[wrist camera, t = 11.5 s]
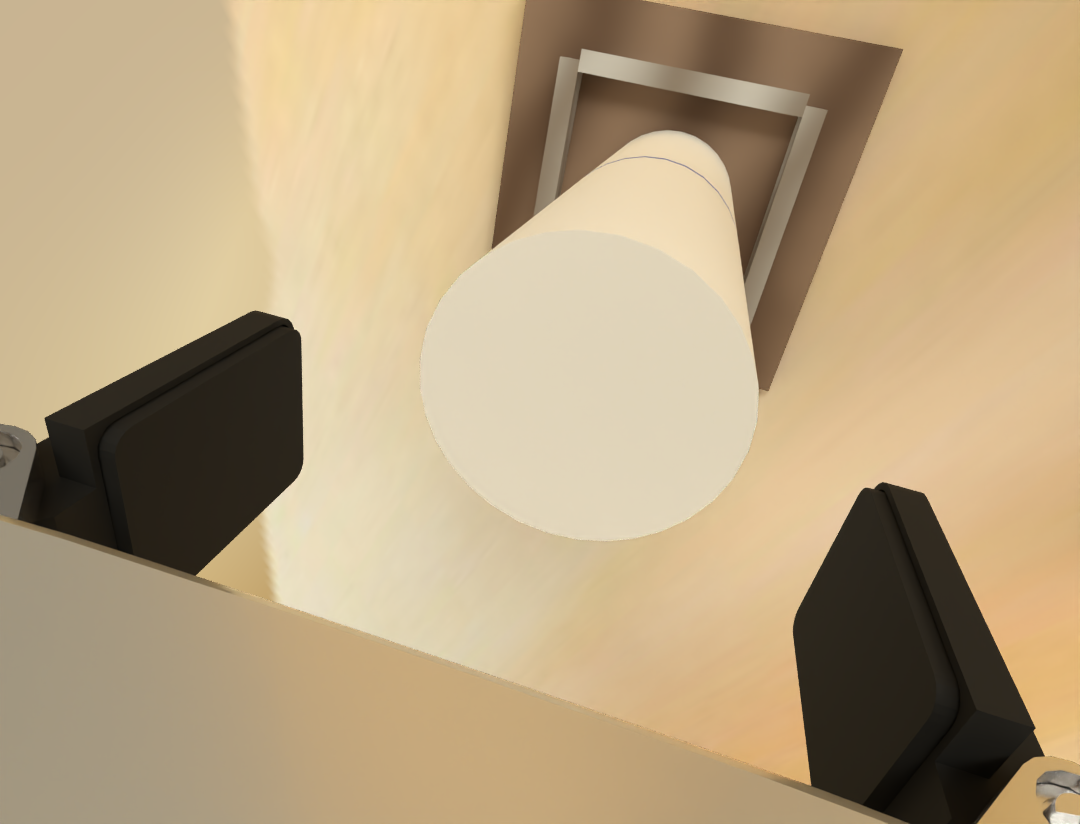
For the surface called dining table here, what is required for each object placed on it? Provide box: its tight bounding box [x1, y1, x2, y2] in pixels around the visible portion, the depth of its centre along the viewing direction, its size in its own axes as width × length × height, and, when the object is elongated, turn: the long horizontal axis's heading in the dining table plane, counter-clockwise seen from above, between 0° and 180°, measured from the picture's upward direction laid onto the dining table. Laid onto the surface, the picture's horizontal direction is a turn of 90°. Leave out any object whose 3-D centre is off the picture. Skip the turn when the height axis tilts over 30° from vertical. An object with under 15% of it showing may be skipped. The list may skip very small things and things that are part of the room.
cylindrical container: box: [420, 130, 759, 541], centre depth 24 cm, size 7×7×25 cm
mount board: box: [492, 0, 903, 391], centre depth 35 cm, size 18×18×3 cm
